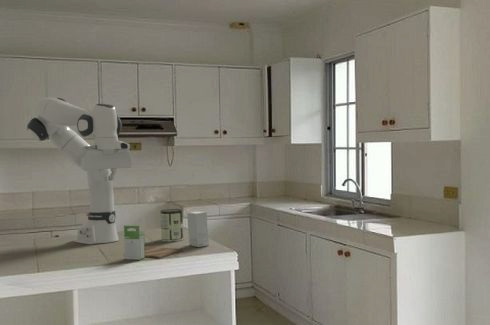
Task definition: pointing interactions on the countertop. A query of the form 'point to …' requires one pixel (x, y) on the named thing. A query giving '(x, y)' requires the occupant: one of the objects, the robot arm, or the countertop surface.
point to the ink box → (134, 244)
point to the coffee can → (171, 225)
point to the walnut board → (160, 252)
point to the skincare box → (198, 229)
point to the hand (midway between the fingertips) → (107, 180)
